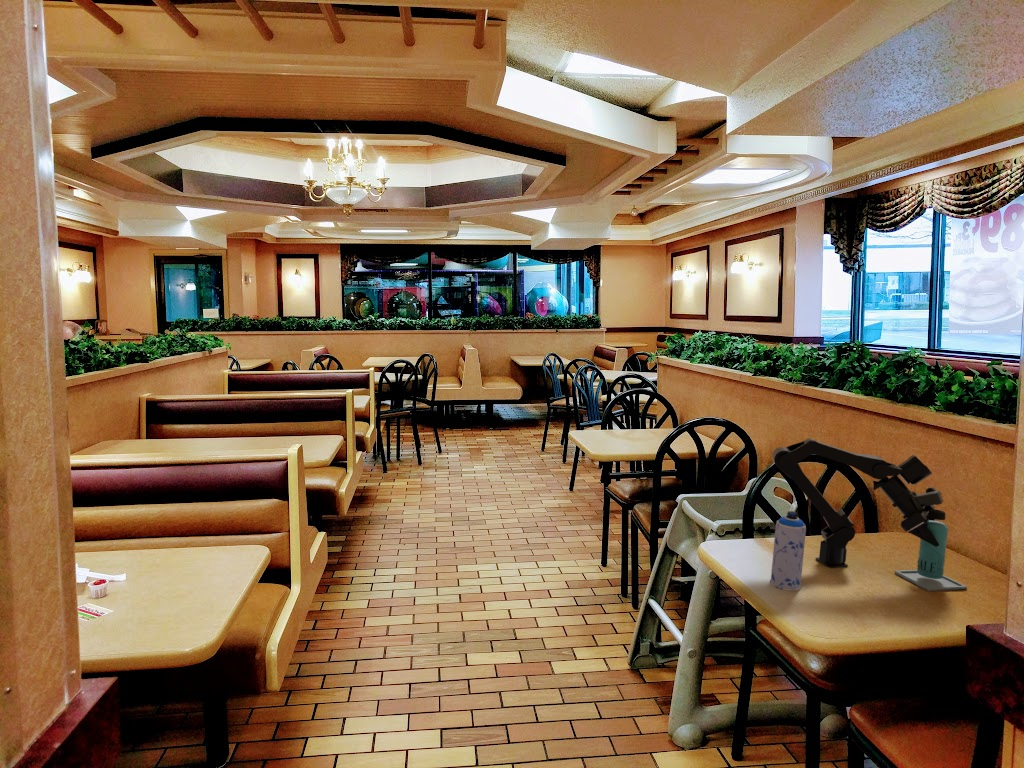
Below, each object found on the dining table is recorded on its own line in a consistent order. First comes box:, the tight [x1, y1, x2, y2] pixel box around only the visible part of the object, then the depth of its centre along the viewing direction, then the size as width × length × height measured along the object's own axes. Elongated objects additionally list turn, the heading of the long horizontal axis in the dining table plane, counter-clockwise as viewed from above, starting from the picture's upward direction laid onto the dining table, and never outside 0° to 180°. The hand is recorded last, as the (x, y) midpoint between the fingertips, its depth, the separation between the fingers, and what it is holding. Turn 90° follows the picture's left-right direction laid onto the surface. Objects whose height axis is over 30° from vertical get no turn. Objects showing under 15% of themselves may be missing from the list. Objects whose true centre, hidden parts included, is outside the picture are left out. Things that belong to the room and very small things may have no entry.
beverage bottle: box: [916, 508, 950, 579], centre depth 190 cm, size 6×7×20 cm
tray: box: [894, 569, 968, 592], centre depth 191 cm, size 12×12×1 cm
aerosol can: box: [769, 510, 807, 592], centre depth 182 cm, size 8×8×20 cm
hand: (940, 542), depth 189 cm, fingers open, 9 cm apart
